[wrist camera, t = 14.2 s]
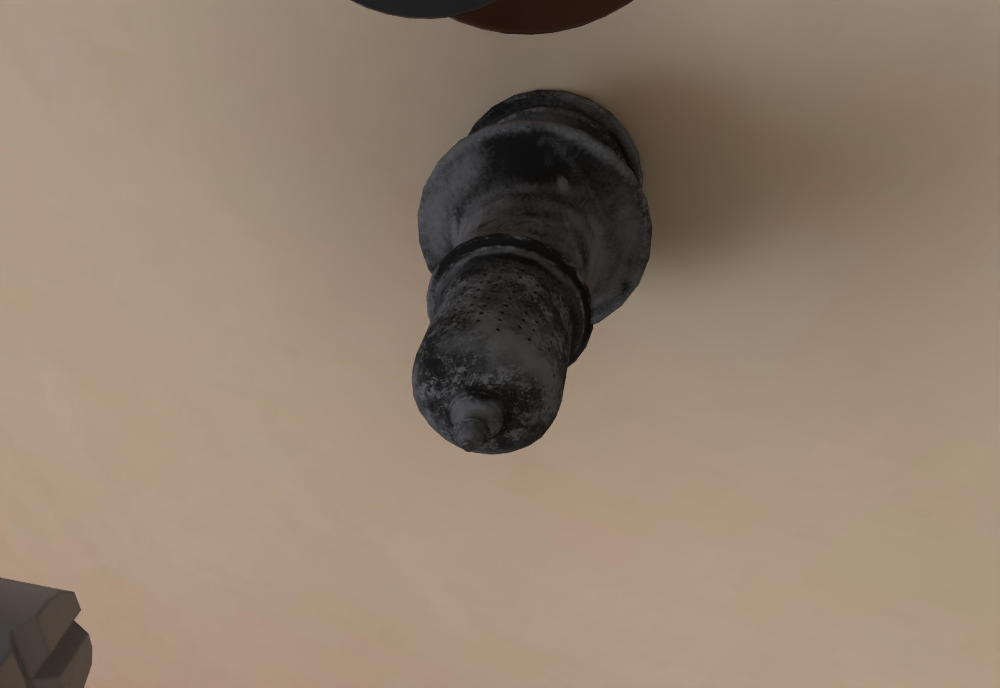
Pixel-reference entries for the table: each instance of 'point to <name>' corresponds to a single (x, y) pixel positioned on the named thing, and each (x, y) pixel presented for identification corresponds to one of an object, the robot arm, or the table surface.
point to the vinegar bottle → (503, 12)
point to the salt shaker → (524, 263)
